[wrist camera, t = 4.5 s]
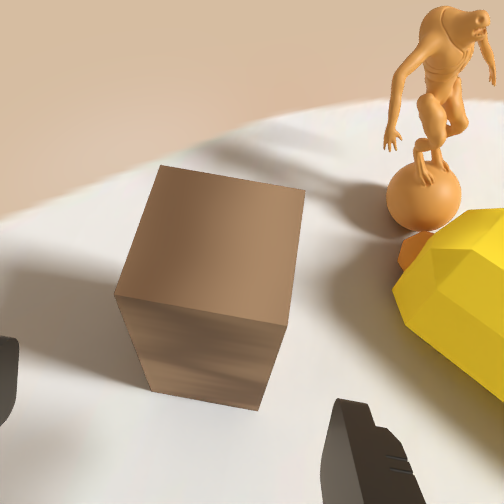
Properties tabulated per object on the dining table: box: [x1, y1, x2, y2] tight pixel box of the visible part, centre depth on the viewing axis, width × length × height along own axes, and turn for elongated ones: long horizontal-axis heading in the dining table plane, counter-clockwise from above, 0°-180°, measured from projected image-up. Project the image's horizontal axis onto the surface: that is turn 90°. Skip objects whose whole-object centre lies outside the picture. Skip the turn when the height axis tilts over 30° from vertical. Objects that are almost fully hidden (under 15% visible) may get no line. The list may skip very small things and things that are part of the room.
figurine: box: [384, 6, 496, 232], centre depth 24 cm, size 8×6×12 cm
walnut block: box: [114, 165, 305, 411], centre depth 19 cm, size 5×5×10 cm
